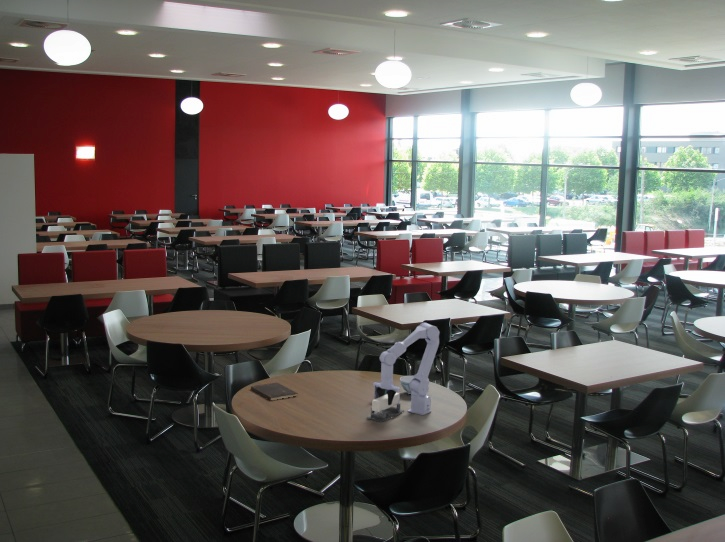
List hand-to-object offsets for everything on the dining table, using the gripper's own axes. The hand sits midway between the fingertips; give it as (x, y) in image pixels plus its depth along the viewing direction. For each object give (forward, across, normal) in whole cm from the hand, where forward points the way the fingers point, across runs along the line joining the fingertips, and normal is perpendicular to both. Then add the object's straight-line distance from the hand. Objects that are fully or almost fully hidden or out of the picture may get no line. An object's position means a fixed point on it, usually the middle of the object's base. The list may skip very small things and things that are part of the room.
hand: (385, 403), depth 354 cm
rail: (+2, 0, 0) cm, 2 cm away
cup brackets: (+6, 0, 0) cm, 6 cm away
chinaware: (+6, -9, +40) cm, 42 cm away
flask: (+6, -14, +18) cm, 24 cm away
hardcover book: (+7, -66, -8) cm, 67 cm away
